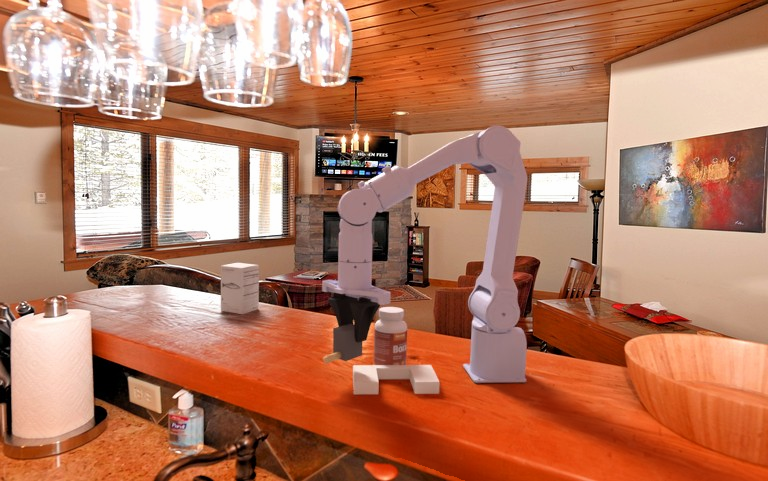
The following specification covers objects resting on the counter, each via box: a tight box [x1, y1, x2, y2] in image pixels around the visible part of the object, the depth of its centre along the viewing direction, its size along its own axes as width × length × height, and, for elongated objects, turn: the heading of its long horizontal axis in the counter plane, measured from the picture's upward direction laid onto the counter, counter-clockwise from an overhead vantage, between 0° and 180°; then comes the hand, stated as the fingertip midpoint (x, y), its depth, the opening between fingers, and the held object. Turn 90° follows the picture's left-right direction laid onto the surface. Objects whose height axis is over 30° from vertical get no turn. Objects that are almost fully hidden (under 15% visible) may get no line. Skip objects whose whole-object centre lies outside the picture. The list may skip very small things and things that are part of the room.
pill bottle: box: [373, 306, 408, 365], centre depth 85 cm, size 6×6×11 cm
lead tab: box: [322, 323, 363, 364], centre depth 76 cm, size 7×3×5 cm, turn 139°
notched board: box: [352, 364, 441, 395], centre depth 77 cm, size 14×8×2 cm, turn 95°
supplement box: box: [220, 262, 260, 315], centre depth 123 cm, size 7×7×13 cm
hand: (353, 338), depth 78 cm, fingers closed on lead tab, 3 cm apart
